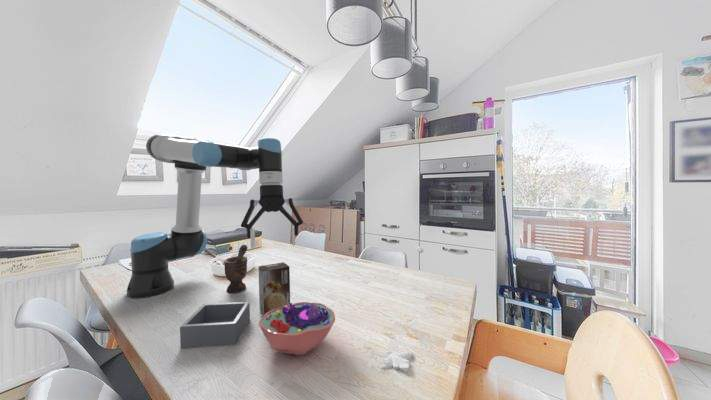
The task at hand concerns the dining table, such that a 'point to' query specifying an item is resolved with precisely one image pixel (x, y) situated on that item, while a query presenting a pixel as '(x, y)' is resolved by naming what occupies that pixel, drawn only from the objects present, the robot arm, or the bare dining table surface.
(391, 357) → the acanthus leaf ornament
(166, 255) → the robot arm
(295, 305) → the cell model
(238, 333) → the open square bin
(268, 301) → the coffee box
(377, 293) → the dining table surface
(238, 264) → the mortar and pestle
